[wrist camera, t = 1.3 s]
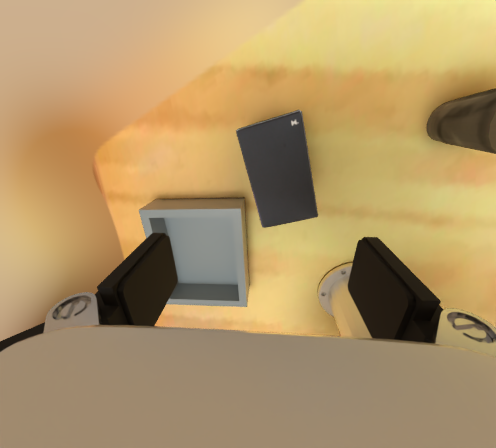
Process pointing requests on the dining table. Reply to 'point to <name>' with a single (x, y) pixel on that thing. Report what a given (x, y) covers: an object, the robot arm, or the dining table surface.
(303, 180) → the small box
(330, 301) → the robot arm
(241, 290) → the crate
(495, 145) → the beverage cup
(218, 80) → the dining table surface
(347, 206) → the dining table surface
